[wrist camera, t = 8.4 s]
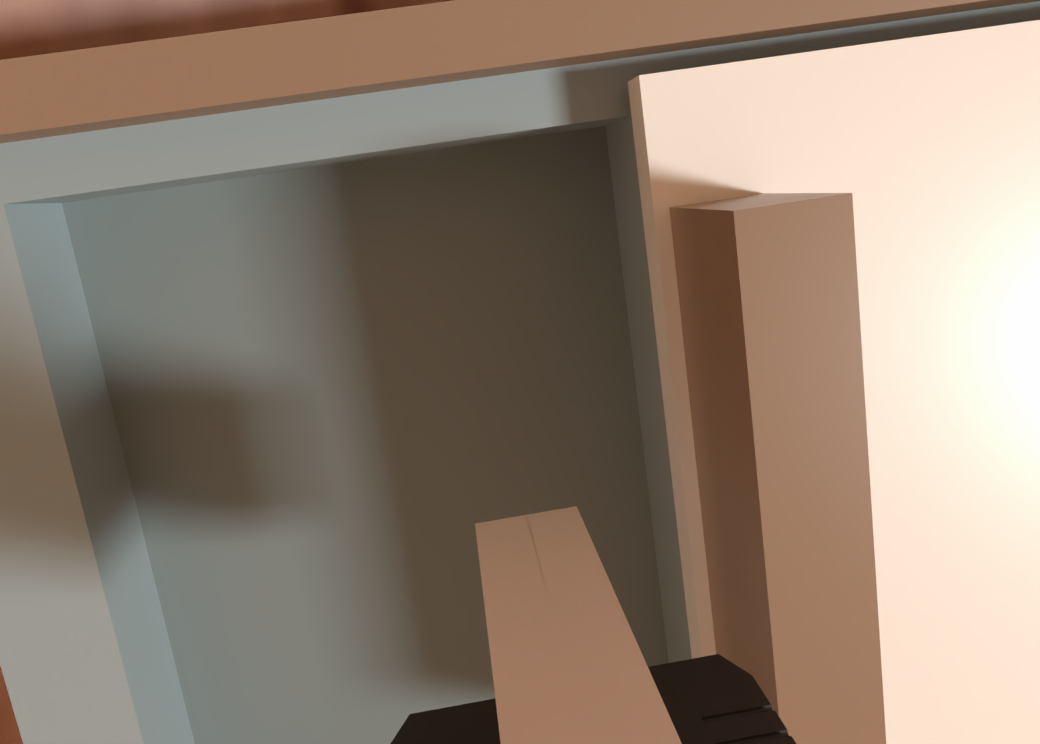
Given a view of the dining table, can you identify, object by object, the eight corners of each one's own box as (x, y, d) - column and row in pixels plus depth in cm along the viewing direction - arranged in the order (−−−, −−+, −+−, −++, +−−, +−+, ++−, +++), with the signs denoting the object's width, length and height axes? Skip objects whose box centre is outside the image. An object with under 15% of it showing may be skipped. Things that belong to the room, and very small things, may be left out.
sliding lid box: (-75, 105, 16) (-217, 80, 12) (1194, -65, 17) (1382, -129, 14) (155, 950, 19) (95, 1111, 16) (1180, 749, 21) (1325, 857, 18)
